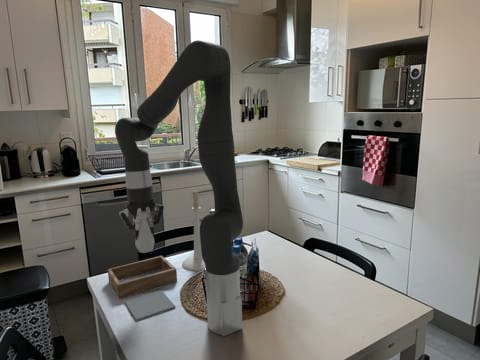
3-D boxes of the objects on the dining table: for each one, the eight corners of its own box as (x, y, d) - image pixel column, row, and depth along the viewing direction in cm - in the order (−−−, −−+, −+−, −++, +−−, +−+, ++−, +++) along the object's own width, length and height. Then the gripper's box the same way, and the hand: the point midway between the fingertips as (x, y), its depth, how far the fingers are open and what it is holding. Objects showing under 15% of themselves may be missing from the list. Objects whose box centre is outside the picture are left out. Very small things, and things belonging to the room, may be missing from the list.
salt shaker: (135, 255, 105) (131, 213, 102) (136, 248, 110) (132, 208, 108) (155, 252, 106) (151, 211, 104) (155, 245, 111) (151, 206, 109)
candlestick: (196, 274, 128) (192, 195, 122) (175, 264, 136) (171, 190, 130) (221, 263, 137) (219, 188, 131) (200, 254, 145) (197, 184, 140)
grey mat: (175, 307, 106) (175, 306, 106) (136, 321, 100) (136, 319, 100) (161, 291, 116) (161, 289, 116) (124, 302, 110) (124, 301, 110)
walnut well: (177, 282, 122) (176, 268, 121) (119, 299, 112) (117, 285, 111) (162, 267, 134) (161, 255, 133) (108, 282, 123) (107, 269, 122)
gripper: (118, 190, 97) (124, 248, 101) (166, 183, 105) (170, 237, 108) (112, 186, 104) (118, 241, 107) (157, 180, 111) (162, 231, 114)
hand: (144, 239), depth 107 cm, fingers closed on salt shaker, 3 cm apart
